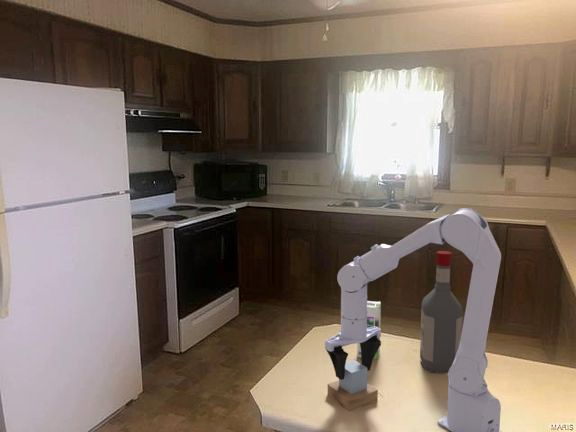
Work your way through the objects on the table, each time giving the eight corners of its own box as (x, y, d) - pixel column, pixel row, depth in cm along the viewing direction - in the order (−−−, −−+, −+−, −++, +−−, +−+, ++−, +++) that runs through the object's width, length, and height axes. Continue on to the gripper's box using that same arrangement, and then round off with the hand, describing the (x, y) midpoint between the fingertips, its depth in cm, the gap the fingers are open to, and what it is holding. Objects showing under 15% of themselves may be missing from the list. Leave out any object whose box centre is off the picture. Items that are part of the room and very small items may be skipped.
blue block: (367, 388, 104) (367, 367, 103) (351, 394, 101) (351, 372, 101) (354, 380, 108) (354, 360, 107) (338, 385, 105) (338, 364, 105)
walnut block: (377, 402, 104) (377, 390, 103) (349, 413, 100) (349, 400, 99) (354, 386, 110) (355, 375, 110) (327, 396, 106) (327, 384, 106)
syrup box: (356, 357, 125) (357, 305, 123) (359, 348, 131) (360, 299, 129) (378, 359, 123) (379, 307, 121) (380, 350, 129) (381, 300, 127)
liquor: (424, 372, 116) (428, 256, 112) (418, 356, 125) (422, 248, 121) (462, 374, 115) (467, 257, 111) (453, 358, 124) (458, 248, 120)
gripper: (366, 304, 109) (365, 358, 111) (316, 316, 102) (316, 374, 104) (387, 313, 103) (386, 370, 105) (336, 326, 96) (336, 387, 98)
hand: (353, 373), depth 104 cm, fingers open, 7 cm apart
